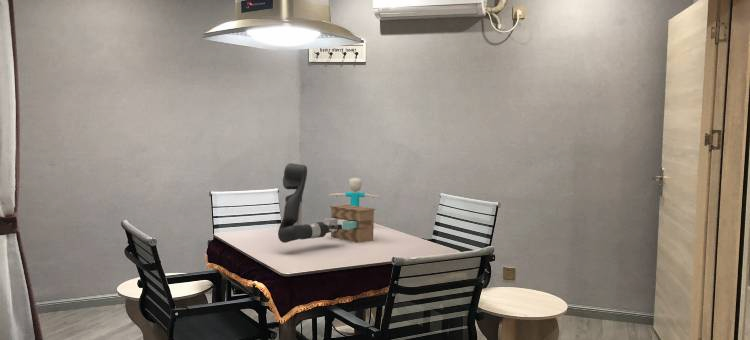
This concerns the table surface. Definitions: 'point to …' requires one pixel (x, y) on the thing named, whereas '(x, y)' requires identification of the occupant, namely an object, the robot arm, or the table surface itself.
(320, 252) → the table surface
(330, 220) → the grey key
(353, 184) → the toy
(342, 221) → the ivory key
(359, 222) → the console
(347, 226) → the teal key
